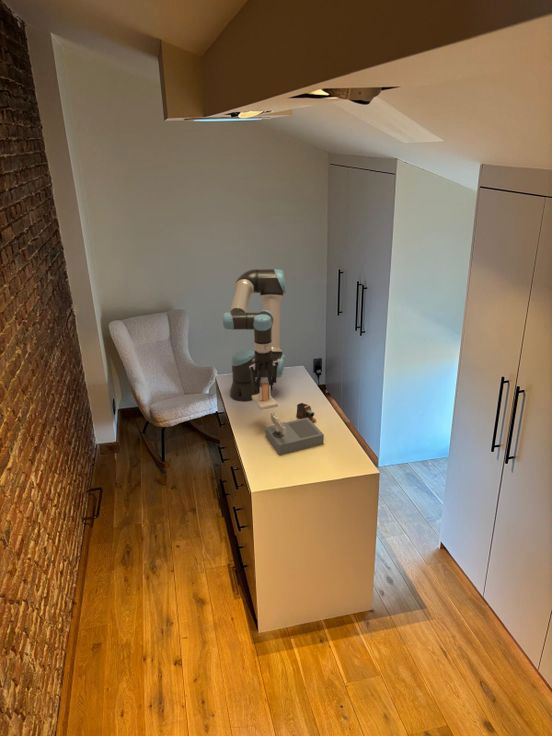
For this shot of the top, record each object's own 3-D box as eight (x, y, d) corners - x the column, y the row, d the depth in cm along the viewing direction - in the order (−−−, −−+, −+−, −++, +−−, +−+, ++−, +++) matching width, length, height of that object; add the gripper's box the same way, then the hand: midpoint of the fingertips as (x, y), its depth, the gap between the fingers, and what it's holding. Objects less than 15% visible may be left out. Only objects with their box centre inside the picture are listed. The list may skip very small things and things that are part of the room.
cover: (251, 398, 250) (251, 379, 246) (267, 395, 253) (267, 376, 249) (261, 410, 240) (260, 391, 236) (277, 406, 243) (277, 387, 239)
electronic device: (309, 425, 253) (310, 411, 250) (295, 417, 260) (295, 403, 257) (316, 421, 256) (316, 407, 253) (302, 414, 263) (302, 400, 259)
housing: (265, 436, 245) (265, 426, 243) (307, 426, 252) (307, 417, 250) (279, 455, 231) (279, 445, 229) (323, 444, 239) (323, 434, 236)
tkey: (282, 442, 231) (282, 429, 228) (270, 426, 242) (270, 413, 240) (286, 441, 231) (286, 428, 228) (274, 425, 243) (274, 412, 240)
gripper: (248, 356, 230) (250, 405, 240) (284, 350, 236) (284, 398, 246) (242, 350, 236) (244, 397, 246) (277, 344, 242) (278, 391, 252)
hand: (264, 397), depth 246 cm, fingers closed on cover, 3 cm apart
